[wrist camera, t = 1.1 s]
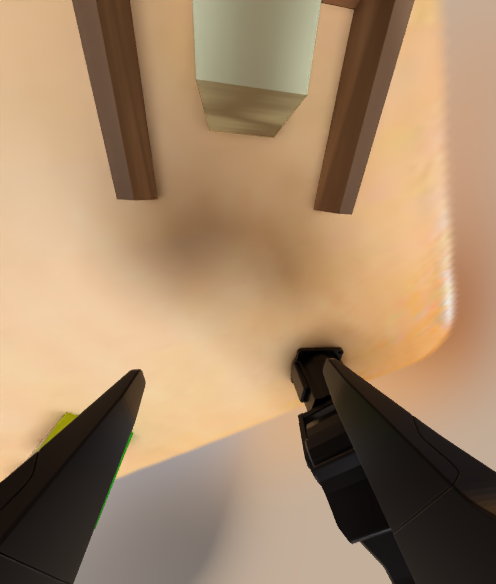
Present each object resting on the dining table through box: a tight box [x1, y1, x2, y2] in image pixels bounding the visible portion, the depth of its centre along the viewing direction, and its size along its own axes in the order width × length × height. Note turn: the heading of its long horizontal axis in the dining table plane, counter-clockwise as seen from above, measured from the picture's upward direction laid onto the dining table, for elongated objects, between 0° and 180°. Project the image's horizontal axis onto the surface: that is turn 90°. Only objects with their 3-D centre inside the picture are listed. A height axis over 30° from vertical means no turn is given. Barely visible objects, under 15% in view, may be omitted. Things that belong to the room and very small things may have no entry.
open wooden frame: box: [72, 0, 414, 214], centre depth 12 cm, size 16×13×4 cm
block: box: [193, 0, 321, 137], centre depth 10 cm, size 5×5×7 cm
